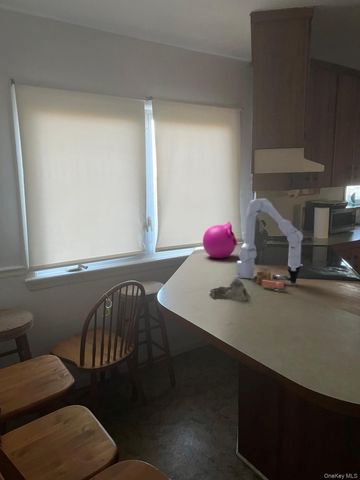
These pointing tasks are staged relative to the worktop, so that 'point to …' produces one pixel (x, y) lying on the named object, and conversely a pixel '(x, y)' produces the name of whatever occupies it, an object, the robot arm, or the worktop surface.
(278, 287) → the latch lever
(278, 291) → the lever base
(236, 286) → the rock
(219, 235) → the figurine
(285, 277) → the bolt
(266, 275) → the eye block
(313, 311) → the worktop surface
